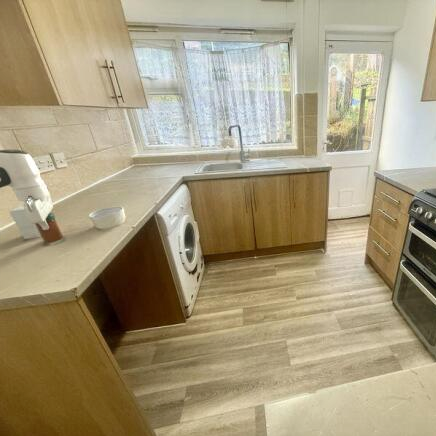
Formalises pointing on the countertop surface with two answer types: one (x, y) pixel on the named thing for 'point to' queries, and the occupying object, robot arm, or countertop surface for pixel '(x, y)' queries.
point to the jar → (50, 232)
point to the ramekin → (108, 217)
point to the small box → (24, 223)
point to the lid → (50, 217)
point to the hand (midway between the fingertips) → (48, 225)
